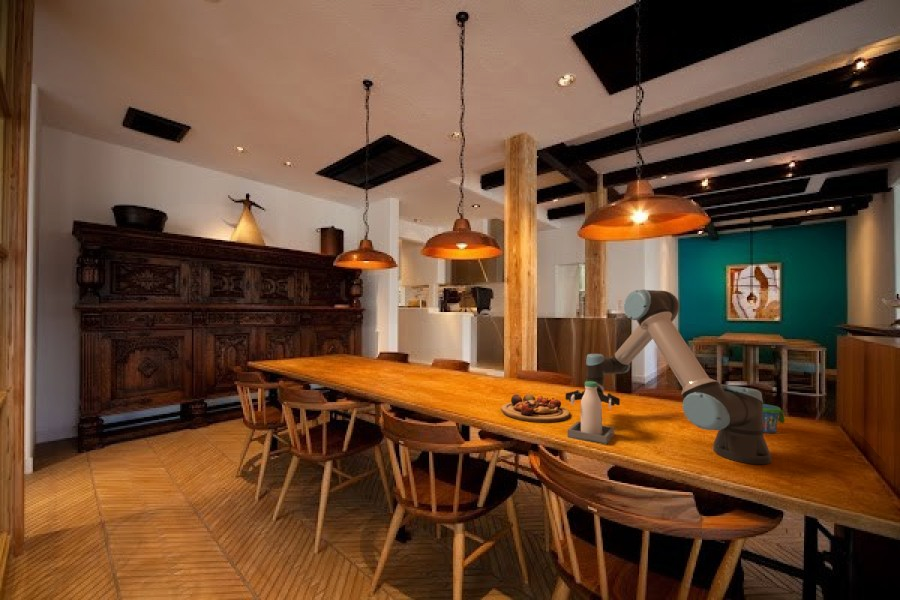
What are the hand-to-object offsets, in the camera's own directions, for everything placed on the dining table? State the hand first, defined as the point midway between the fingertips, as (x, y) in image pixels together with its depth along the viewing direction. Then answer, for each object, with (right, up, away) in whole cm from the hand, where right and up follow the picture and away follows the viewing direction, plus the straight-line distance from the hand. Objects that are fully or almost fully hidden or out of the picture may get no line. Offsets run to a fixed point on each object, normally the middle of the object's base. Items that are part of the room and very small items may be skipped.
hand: (590, 403), depth 137 cm
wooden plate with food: (-13, -15, +34) cm, 40 cm away
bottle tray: (+1, -13, +2) cm, 14 cm away
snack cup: (+76, -15, +11) cm, 78 cm away
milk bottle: (+1, -13, +3) cm, 13 cm away
